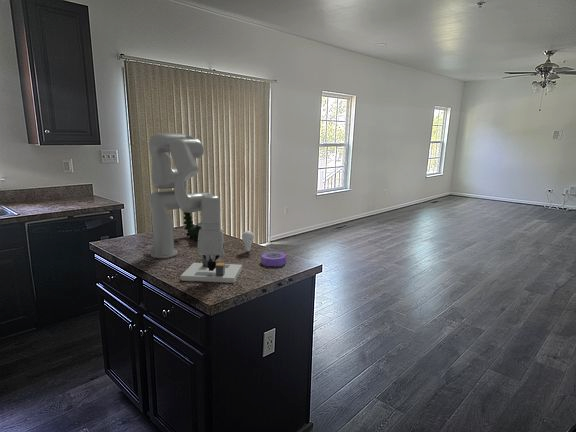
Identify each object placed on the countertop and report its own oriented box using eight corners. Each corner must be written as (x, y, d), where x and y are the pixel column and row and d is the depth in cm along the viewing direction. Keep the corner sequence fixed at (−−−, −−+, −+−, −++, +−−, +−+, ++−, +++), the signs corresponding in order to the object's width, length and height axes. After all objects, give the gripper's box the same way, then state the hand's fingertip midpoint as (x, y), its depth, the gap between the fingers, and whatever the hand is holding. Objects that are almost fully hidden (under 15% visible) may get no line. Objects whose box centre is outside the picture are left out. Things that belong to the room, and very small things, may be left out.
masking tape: (256, 263, 170) (256, 255, 169) (272, 257, 178) (272, 249, 178) (274, 269, 162) (274, 260, 162) (291, 262, 171) (291, 254, 170)
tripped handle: (215, 275, 147) (215, 265, 146) (217, 272, 150) (217, 262, 149) (223, 275, 147) (222, 265, 146) (224, 272, 150) (224, 262, 149)
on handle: (202, 265, 157) (202, 257, 156) (204, 263, 160) (204, 255, 159) (209, 266, 157) (209, 257, 156) (211, 263, 160) (211, 255, 159)
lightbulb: (242, 249, 189) (242, 229, 186) (254, 249, 189) (253, 229, 187) (241, 253, 183) (241, 232, 181) (253, 253, 183) (253, 232, 181)
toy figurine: (181, 240, 211) (204, 245, 194) (178, 208, 208) (201, 210, 191) (195, 237, 218) (219, 242, 200) (192, 206, 215) (216, 208, 197)
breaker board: (180, 280, 147) (180, 275, 146) (193, 266, 162) (193, 262, 162) (234, 282, 145) (234, 277, 145) (242, 268, 161) (242, 264, 161)
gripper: (189, 227, 141) (190, 272, 145) (226, 229, 140) (227, 274, 144) (195, 223, 148) (197, 265, 152) (231, 225, 147) (231, 267, 151)
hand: (211, 269), depth 148 cm, fingers closed
